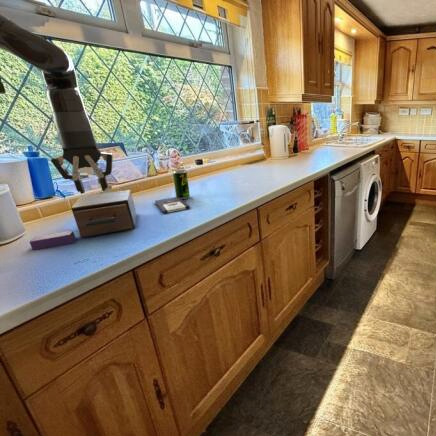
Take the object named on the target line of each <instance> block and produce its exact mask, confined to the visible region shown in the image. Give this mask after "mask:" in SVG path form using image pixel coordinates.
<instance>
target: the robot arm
mask: <svg viewBox="0 0 436 436" xmlns="http://www.w3.org/2000/svg"><path fill="white" fill-rule="evenodd" d="M0 50H2V51H5V52H7V53H10V54H12V55H14V56H15V57H17V58H19V59H21V60H22V61H24V62H26V63H27V64H29V65H31V66H33V67H35V68H36V69H38V70H40V72H41V74H42V78H43V81H44V83H45V86H46V90H45V95H46V100H47V102H48V105H49V109H50V111H51V116H52V120H53V125H54V129H55V131H56V134H57V137H58V140H59V143H60V146H61V149H62V154H61V155H60V156H57V157H53V158H51V159H50V162H51V163H52V165H53V166H54V168H56V170H57V172H58V173H59V174H60V176H61V177H62V178H63V179H64V180H71V181H73V183H74V186H75V189H76V191H77V192H78V193H80V195H82V194H85V193H86V190H85V187H84V184H83V181H82V178H81V177H80V176H81V169H84V168H92V170H93V171H94V172H95V173H96V175H97V176H98V180H99V184H100V188H101V191H105V190H106V188H107V187H108V184H107V183H108V181H107V176H109V175H112V171H113V159H114V158H113V157H114V155H113V153H111V152H102V151H101V150H100V149H99V148H98V145H97V140H96V138H95V135H94V132H93V128H92V124H91V120H90V118H89V116H88V114H87V111H86V108H85V104H84V101H83V97H82V95H81V92H80V90H79V84H78V79H77V74H76V69H75V67H74V62H73V61H72V58H71V57H70V56H69V55H68V54H67V53H66V52H65V50H64V49H62V48H61V47H59V46H58V45H56V44H54V43H53V42H51V41H49V40H47V39H46V38H44V37H42V36H40V35H38V34H36V33H34V32H32V31H30V30H28V29H26V28H24V27H22V26H21V25H20V24H18V23H17V22H15V21H13V20H12V19H10V18H8V17H7V16H5V15H3V14H2V13H0ZM101 157H102V159H103V161H105V170H103V169H102V167H101V165H100V164H99V160H100V158H101ZM65 161H66V162H67V163H68V164H70V165H72V169H71V171H72V174H71V173H70V172H69V170H68V169H67V167H66V166H65V165H64V164H65Z"/></svg>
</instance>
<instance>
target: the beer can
mask: <svg viewBox="0 0 436 436" xmlns="http://www.w3.org/2000/svg"><path fill="white" fill-rule="evenodd" d="M172 177H173V183H174V184H173V185H174V191H175V197H180V198H181V199H182V200H186V199H189V198H190V196H191V194H190V186H189V185H190V184H189V179H188V171H187V169H186V168H177V169H173V170H172Z"/></svg>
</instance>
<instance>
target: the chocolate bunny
mask: <svg viewBox="0 0 436 436" xmlns="http://www.w3.org/2000/svg"><path fill="white" fill-rule="evenodd" d="M107 184H108V187H107V188H106V190H105V191H102V190H100V192H99V194H101V193H109V192H112V188H113V186H112V184H110V183H109V182H107Z"/></svg>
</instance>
